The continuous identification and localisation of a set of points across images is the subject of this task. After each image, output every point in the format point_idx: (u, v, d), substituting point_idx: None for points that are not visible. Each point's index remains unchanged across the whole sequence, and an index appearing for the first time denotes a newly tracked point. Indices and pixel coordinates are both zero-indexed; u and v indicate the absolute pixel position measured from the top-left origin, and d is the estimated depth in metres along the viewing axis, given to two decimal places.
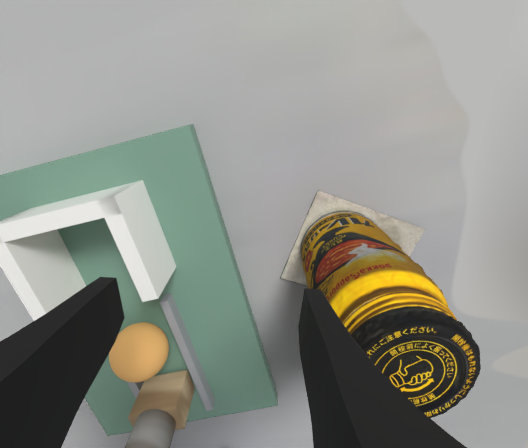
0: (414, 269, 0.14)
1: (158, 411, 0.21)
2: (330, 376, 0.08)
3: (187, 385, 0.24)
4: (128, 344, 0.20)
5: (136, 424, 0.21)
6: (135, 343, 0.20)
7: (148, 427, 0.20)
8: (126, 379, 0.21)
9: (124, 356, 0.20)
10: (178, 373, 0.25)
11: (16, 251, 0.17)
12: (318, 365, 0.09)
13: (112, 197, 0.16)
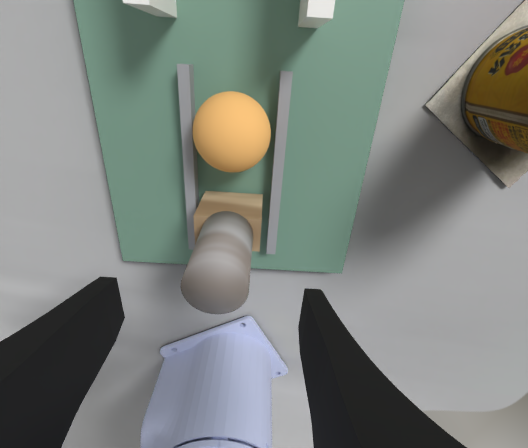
0: None
1: (240, 216, 0.16)
2: (330, 376, 0.08)
3: None
4: (236, 103, 0.14)
5: (211, 221, 0.15)
6: (245, 105, 0.14)
7: (232, 225, 0.15)
8: (218, 153, 0.14)
9: (229, 115, 0.14)
10: (251, 195, 0.19)
11: None
12: (317, 365, 0.09)
13: None
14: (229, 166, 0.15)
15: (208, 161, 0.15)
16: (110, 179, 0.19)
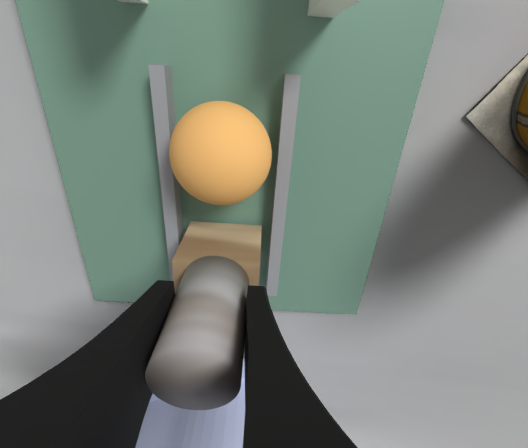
0: None
1: (232, 262, 0.12)
2: None
3: None
4: (225, 118, 0.10)
5: (194, 271, 0.12)
6: (238, 121, 0.10)
7: (221, 278, 0.11)
8: (201, 184, 0.11)
9: (216, 135, 0.10)
10: (248, 226, 0.15)
11: None
12: (247, 361, 0.09)
13: None
14: (217, 199, 0.11)
15: (190, 192, 0.12)
16: (73, 207, 0.15)
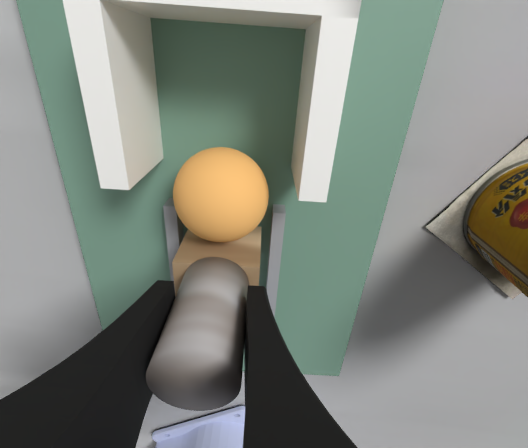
0: None
1: (232, 263, 0.12)
2: None
3: None
4: None
5: (194, 272, 0.12)
6: None
7: (221, 280, 0.11)
8: (211, 148, 0.12)
9: None
10: None
11: (111, 32, 0.09)
12: (247, 361, 0.09)
13: None
14: (221, 153, 0.12)
15: (192, 159, 0.12)
16: (96, 296, 0.18)
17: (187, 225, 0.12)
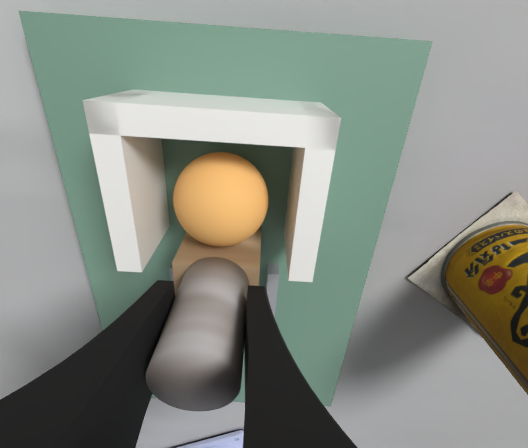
0: None
1: (232, 263, 0.12)
2: None
3: None
4: None
5: (194, 272, 0.12)
6: None
7: (221, 280, 0.11)
8: None
9: None
10: None
11: (128, 155, 0.11)
12: (247, 361, 0.09)
13: (336, 119, 0.10)
14: None
15: None
16: None
17: (189, 169, 0.12)
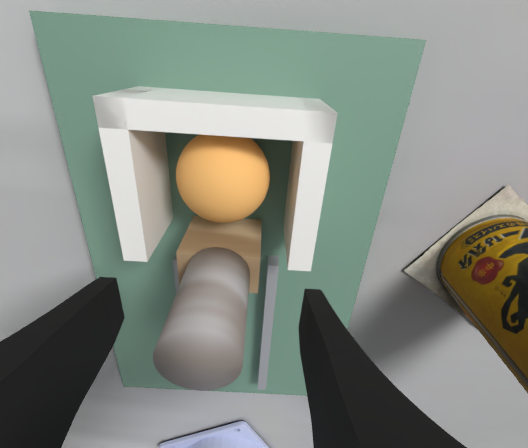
0: None
1: (234, 253, 0.13)
2: (330, 376, 0.08)
3: None
4: (228, 222, 0.13)
5: (198, 261, 0.12)
6: None
7: (223, 268, 0.12)
8: None
9: None
10: (248, 220, 0.16)
11: (135, 148, 0.11)
12: (317, 365, 0.09)
13: (333, 114, 0.10)
14: None
15: None
16: None
17: (194, 138, 0.12)
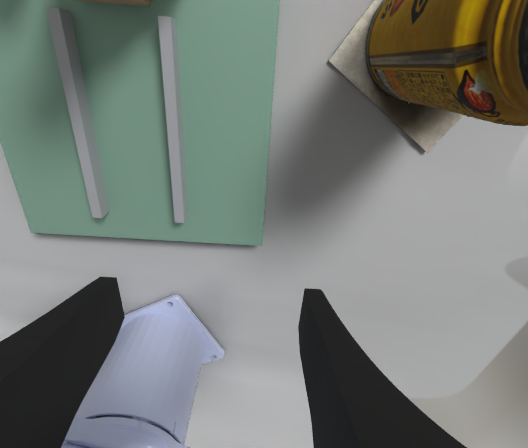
0: None
1: None
2: (330, 376, 0.08)
3: None
4: None
5: None
6: None
7: None
8: None
9: None
10: None
11: None
12: (317, 365, 0.09)
13: None
14: None
15: None
16: (3, 141, 0.18)
17: None
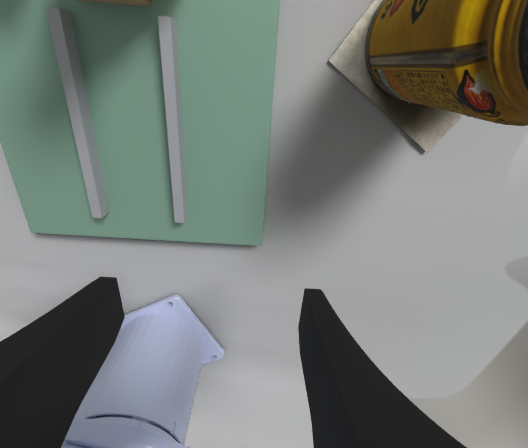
0: None
1: None
2: (330, 376, 0.08)
3: None
4: None
5: None
6: None
7: None
8: None
9: None
10: None
11: None
12: (317, 365, 0.09)
13: None
14: None
15: None
16: (3, 141, 0.18)
17: None
